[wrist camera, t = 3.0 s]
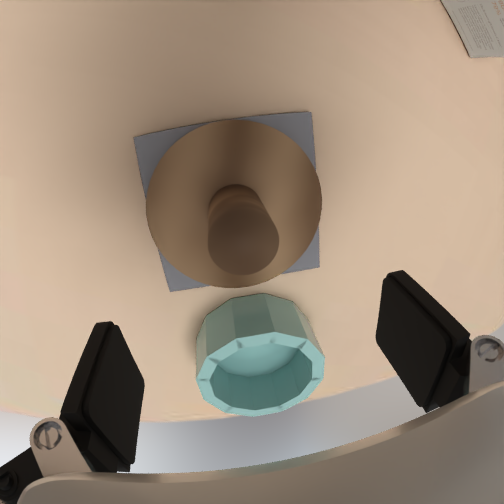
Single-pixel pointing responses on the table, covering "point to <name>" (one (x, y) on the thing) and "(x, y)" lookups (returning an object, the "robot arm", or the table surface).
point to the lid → (233, 203)
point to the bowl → (257, 356)
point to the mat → (158, 143)
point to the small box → (479, 25)
